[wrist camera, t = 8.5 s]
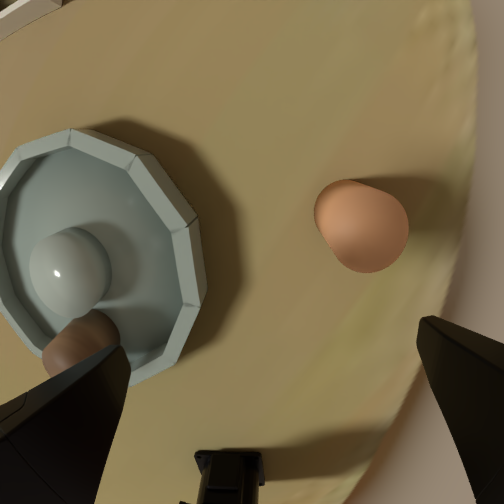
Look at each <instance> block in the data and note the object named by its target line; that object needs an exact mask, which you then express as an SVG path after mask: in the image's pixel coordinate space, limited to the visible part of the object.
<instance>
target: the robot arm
mask: <svg viewBox="0 0 504 504" xmlns="http://www.w3.org/2000/svg"><path fill="white" fill-rule="evenodd" d="M416 344H417V349H418V352H419V355H420V357H421V360H422V363H423V366H424V369H425V372H426V375H427V378H428V381H429V384H430V387H431V389H432V391H433V393H434V396H435V398H436V400H437V402H438V405H439V407H440V409H441V411H442V414H443V416H444V418H445V420H446V423H447V425H448V428H449V430H450V432H451V435H452V437H453V440H454V442H455V445H456V447H457V450H458V452H459V455H460V458H461V460H462V462H463V465H464V468H465V471H466V474H467V476H468V479H469V482H470V485H471V488H472V491H473V494H474V497H475V499H476V504H504V344H503V343H500V342H498V341H495V340H493V339H491V338H488V337H486V336H483V335H481V334H478V333H476V332H473V331H471V330H468V329H466V328H464V327H461V326H459V325H456V324H454V323H451V322H449V321H446V320H444V319H441V318H439V317H436V316H434V315H431V316H426V317H422V318H421V319H420V322H419V328H418V334H417V341H416ZM130 376H131V365H130V363H129V360H128V357H127V355H126V352H125V350H124V348H123V346H121V345H108V346H107V347H105V348H103V349H101V350H100V351H98V352H96V353H94V354H93V355H91V356H89V357H87V358H86V359H84V360H82V361H80V362H79V363H77V364H75V365H73V366H72V367H70V368H68V369H66V370H64V371H63V372H61V373H59V374H57V375H56V376H54V377H52V378H50V379H48V380H47V381H45V382H43V383H41V384H40V385H38V386H36V387H34V388H32V389H31V390H29V391H28V392H25V393H23V394H22V395H20V396H18V397H16V398H14V399H12V400H10V401H9V402H7V403H5V404H3V405H1V406H0V504H94V502H95V499H96V495H97V491H98V488H99V484H100V481H101V478H102V474H103V471H104V467H105V464H106V461H107V458H108V454H109V451H110V448H111V445H112V442H113V439H114V436H115V433H116V429H117V426H118V423H119V420H120V417H121V414H122V411H123V407H124V402H125V398H126V393H127V389H128V385H129V380H130ZM194 457H195V460H196V463H197V465H198V468H199V470H200V473H201V475H202V477H201V482H200V488H199V493H198V499H197V504H258V492H259V486H264V485H265V479H264V471H263V463H262V456H261V454H260V453H257V452H249V453H230V452H200V451H198V452H195V455H194ZM179 504H189V503H186V502H183V501H180V503H179Z"/></svg>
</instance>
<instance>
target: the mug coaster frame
mask: <svg viewBox="0 0 504 504" xmlns="http://www.w3.org/2000/svg"><path fill="white" fill-rule="evenodd" d="M60 7H62V0H18V1H16V2H15V3H13V4H12V5H10V6H9V7H7V8H6V9H4V10H3V11H1V12H0V41H1V40H2V39H4V38H6V37H7V36H9V35H10V34H12V33H14V32H15V31H17V30H19V29H20V28H22V27H24V26H26V25H27V24H29V23H31V22H33V21H35V20H36V19H38V18H40V17H42V16H44V15H46V14H48V13H50V12H52V11H54V10H56V9H58V8H60Z"/></svg>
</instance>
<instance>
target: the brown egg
mask: <svg viewBox="0 0 504 504" xmlns="http://www.w3.org/2000/svg"><path fill="white" fill-rule="evenodd" d="M314 219H315V223H316V225H317V227H318V229H319V231H320V232H321V234H322V235H323V237H324V238H325V240H326V241H327V243H328V245H329V246H330V248H331V249H332V251H333V252H334V254H335V255H336V257H337V258H338V260H339V261H340V262H341V263H342V264H343V265H345V266H346V267H347V268H349V269H351V270H353V271H356V272H361V273H372V272H377V271H380V270H382V269H385V268H386V267H388V266H390V265H391V264H392V263H393V262H395V261H396V260H397V258H398V257H399V256H400V255H401V253H402V252H403V250H404V248H405V246H406V243H407V239H408V234H409V223H408V218H407V215H406V212H405V210H404V208H403V207H402V205H401V204H400V202H399V201H398V200H397V199H396V198H394V197H393V196H392V195H390V194H388V193H386V192H383V191H381V190H378V189H375V188H372V187H370V186H367V185H364V184H361V183H359V182H356V181H352V180H339V181H336V182H333V183H331V184H329V185H328V186H327V187H325V188H324V189H323V190H322V192H321V193H320V194H319V196H318V198H317V200H316V203H315V207H314Z"/></svg>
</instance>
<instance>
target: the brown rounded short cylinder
mask: <svg viewBox="0 0 504 504" xmlns="http://www.w3.org/2000/svg"><path fill="white" fill-rule="evenodd" d="M120 340H121V339H120V333H119V330H118V328H117V326H116V325H115V323H114V322H113V321H112V320H111V319H110V318H109V317H108V316H107V315H106V314H104V313H102V312H100V311H98V310H95V309H91V310H90V311H89V312H88V313H87V314H85V315H84V316H82V317H79V318H74V319H73V320H72V321H71V322H70V323H69V324H68V325H67V326H66V327H65V328H64V329H63V330H62V331H61V332H60V333H59V334H58V335H57V336H56V337H55V338H54V339H53V340H52V341H51V342H50V343H49V344H48V345H47V346H46V347H45V348H44V350H43V352H42V362H43V365H44V367H45V369H46V371H47V373H48V374H49V376H50V377H51V378H52V377H54V376H56V375H57V374H59V373H61V372H63V371H64V370H66V369H68V368H70V367H72V366H73V365H75V364H77V363H79V362H80V361H82V360H84V359H86V358H87V357H89V356H91V355H93V354H94V353H96V352H98V351H100V350H101V349H103V348H105V347H107V346H108V345H120Z"/></svg>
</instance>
